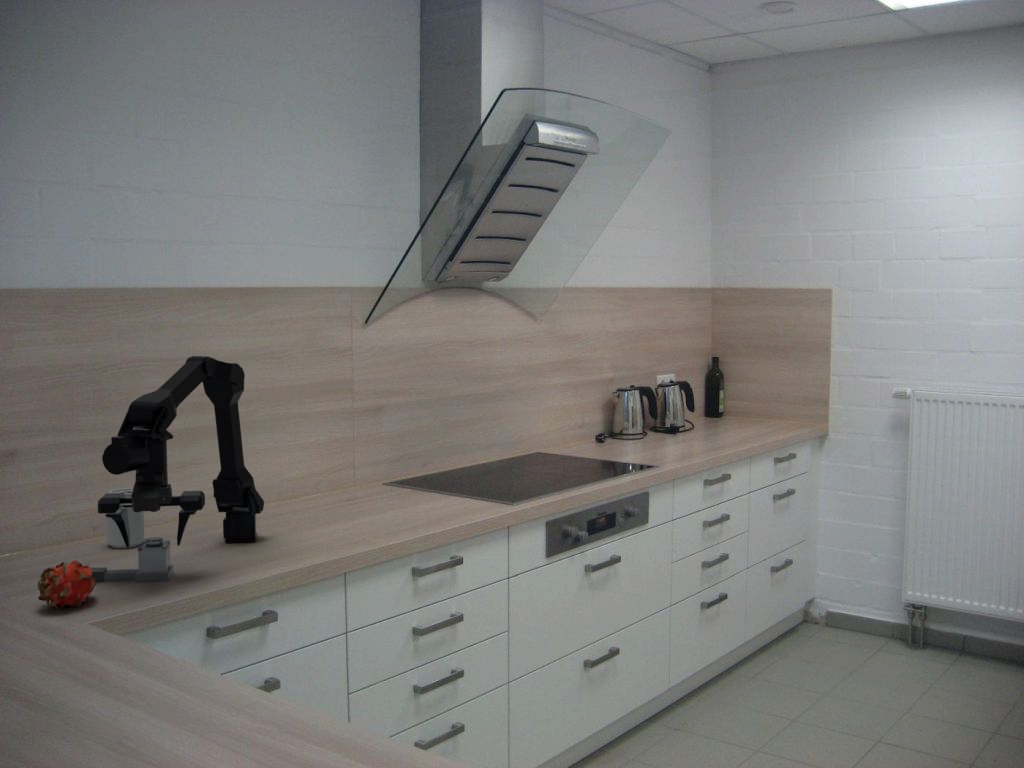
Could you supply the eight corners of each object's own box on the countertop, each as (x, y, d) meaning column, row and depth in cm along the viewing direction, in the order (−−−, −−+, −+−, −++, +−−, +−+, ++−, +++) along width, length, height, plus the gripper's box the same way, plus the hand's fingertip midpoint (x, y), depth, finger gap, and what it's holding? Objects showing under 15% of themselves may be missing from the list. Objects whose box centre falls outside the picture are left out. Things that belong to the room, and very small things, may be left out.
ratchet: (173, 572, 196) (173, 550, 196) (168, 581, 190) (168, 558, 190) (65, 577, 193) (64, 554, 192) (56, 586, 187) (55, 562, 186)
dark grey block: (170, 565, 196) (169, 535, 195) (166, 572, 191) (165, 541, 190) (143, 566, 195) (142, 536, 194) (138, 574, 190) (137, 542, 189)
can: (151, 542, 219) (150, 487, 218) (130, 550, 212) (128, 494, 211) (122, 539, 221) (120, 485, 220) (99, 547, 214) (97, 492, 213)
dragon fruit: (36, 625, 170) (87, 614, 181) (71, 599, 168) (120, 589, 179) (15, 581, 172) (67, 572, 183) (50, 555, 170) (100, 548, 181)
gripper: (89, 474, 181) (92, 559, 183) (197, 472, 185) (199, 555, 186) (102, 464, 192) (105, 544, 194) (204, 461, 195) (206, 540, 197)
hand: (153, 546), depth 192 cm, fingers open, 9 cm apart
